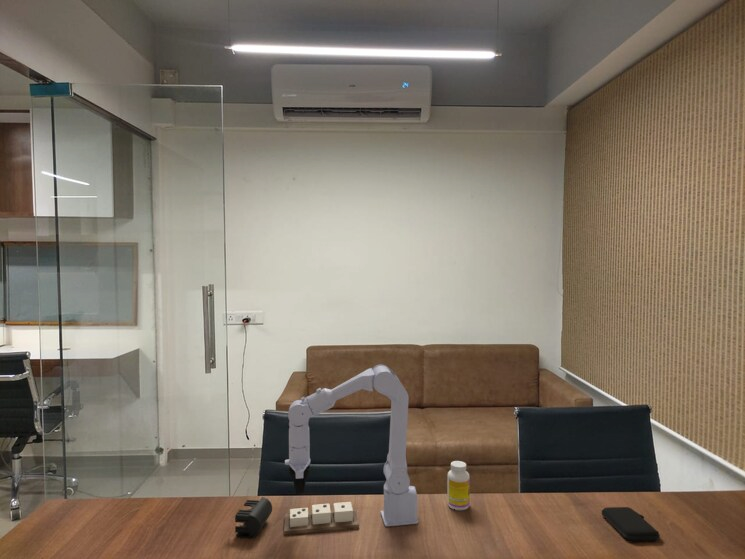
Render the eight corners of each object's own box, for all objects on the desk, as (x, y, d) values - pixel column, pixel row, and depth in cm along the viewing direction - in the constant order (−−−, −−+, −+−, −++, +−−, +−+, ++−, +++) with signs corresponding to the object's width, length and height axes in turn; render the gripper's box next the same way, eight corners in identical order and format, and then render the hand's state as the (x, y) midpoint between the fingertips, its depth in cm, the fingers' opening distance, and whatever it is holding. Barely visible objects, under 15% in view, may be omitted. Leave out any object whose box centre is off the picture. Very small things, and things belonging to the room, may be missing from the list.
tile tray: (355, 512, 139) (355, 508, 139) (358, 528, 130) (358, 524, 130) (285, 518, 136) (285, 513, 136) (284, 535, 127) (284, 531, 127)
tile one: (350, 511, 137) (350, 501, 136) (352, 521, 132) (352, 509, 132) (333, 513, 136) (333, 502, 136) (334, 522, 131) (334, 511, 131)
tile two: (329, 513, 136) (329, 502, 136) (330, 523, 131) (330, 511, 131) (312, 515, 135) (312, 504, 135) (312, 524, 130) (312, 513, 130)
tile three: (307, 517, 135) (307, 506, 135) (308, 527, 130) (308, 516, 130) (290, 519, 134) (290, 508, 134) (289, 529, 129) (289, 517, 129)
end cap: (260, 541, 125) (259, 516, 124) (234, 539, 125) (234, 514, 125) (272, 520, 134) (272, 497, 134) (249, 518, 135) (248, 495, 135)
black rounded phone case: (667, 544, 123) (634, 514, 138) (667, 533, 123) (634, 504, 138) (627, 545, 123) (598, 515, 137) (627, 534, 123) (598, 505, 137)
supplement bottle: (471, 511, 139) (472, 468, 139) (449, 511, 139) (449, 468, 138) (466, 499, 146) (467, 459, 145) (445, 500, 146) (445, 459, 145)
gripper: (285, 436, 138) (286, 481, 138) (283, 456, 123) (284, 506, 124) (309, 434, 139) (310, 479, 139) (310, 454, 124) (311, 504, 125)
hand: (299, 492), depth 132 cm, fingers closed
